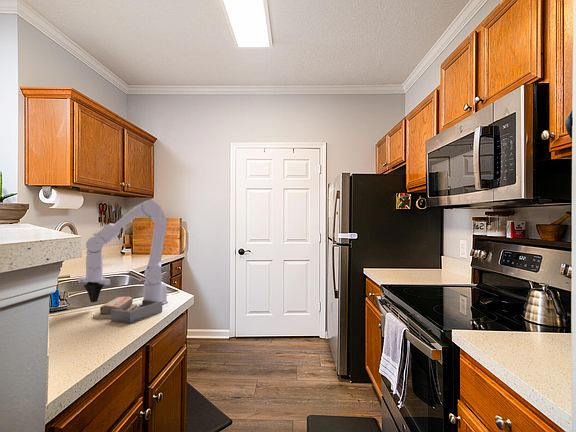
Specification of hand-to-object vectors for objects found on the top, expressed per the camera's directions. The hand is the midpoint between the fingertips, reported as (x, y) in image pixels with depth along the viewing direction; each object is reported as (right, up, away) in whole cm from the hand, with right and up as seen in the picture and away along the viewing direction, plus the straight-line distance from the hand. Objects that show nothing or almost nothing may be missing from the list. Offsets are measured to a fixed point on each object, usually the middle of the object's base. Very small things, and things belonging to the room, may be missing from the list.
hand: (94, 301), depth 141 cm
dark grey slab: (+20, -4, -7) cm, 21 cm away
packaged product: (+10, -4, -2) cm, 11 cm away
